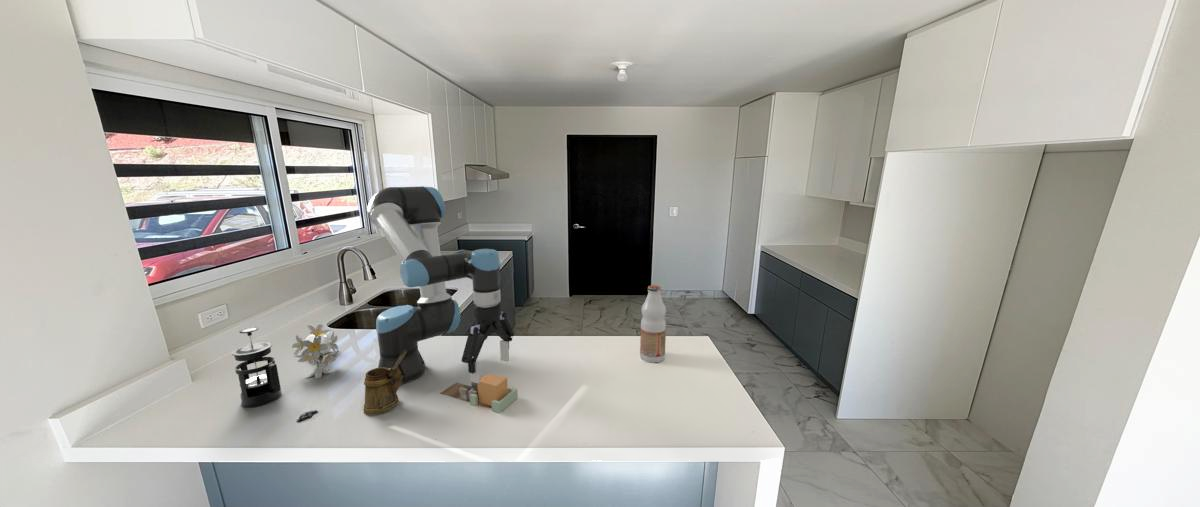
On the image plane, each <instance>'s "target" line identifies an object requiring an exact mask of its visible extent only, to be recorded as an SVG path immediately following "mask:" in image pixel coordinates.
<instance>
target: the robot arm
mask: <svg viewBox="0 0 1200 507" xmlns="http://www.w3.org/2000/svg"><path fill="white" fill-rule="evenodd" d="M366 208H367V209H366V210H367V216H368V218H369V220H370V222H371V223H372V225H374V227H376V228H377V229H380V231H381V232H382V234H383V235H384V237H385V238H386V240H387V241H388V243H389V244H390V246H391V247H392V249H393V250H394V251H395V253H396V254H397V256H398V258H399V259H400V261H401V264H400V266H399V268H400V269H399V271H400V277H401V280H402V282H403V283H402V284H403V285H404V286H406V287H407V288H417V287H419V293H420V297H419V299H418V300H417V301H416V304H417V307H414V306H413V305H409V304H406V305H405V304H404V305H397V306H394V307H390V308H388V309H386V310H384V311H382V312H381V313H379V315H378V316H377V317H376V322H375V324H376V325H375V326H376V328H375V329H376V330H375V331H376V333H377V342H378V348H379V361H378V365H377V368H380V367H386V368H391V367H392V365H393V364H394V363H395V361H396V360H397V358H398V357H399V356H400V355H401V353H402V352H403V351H404V350H405V349H406V351H407V353H406V354H405V356H404V357H403V359H402V360H401V362H400V363H399V365H398V366H397V368H398V369H399V370H400V372H401V375H402V382H401V384H400V385H402V384H406V383H409V382H412V381H414V380H416V379H418V378H420V377H422V376H423V375H424V373H425V372H426V363H425V360H424V358H423V356H422V354H421V352H420V351H419V347H418V345H419V344H418V343H419V342H421V341H426V340H428V339H431V338H434V337H437V336H442V335H447V334H449V333H451V332H454V331H455V330H456V329H457V328H458V327H459V326H460V322H461V310H460V307H459V303H458V302H457V301H456V300H455V299H452V295H451V294H449V293H448V292H447V288H446V282H449V281H450V282H451V281H455V280H460V279H466V278H467V279H470V280H472V296H473V298H472V299H473V304H474V305H473V312H474V313H473V314H474V318H475V319H476V320H477V321H476V325H474V326H473V325H470V326H468V333H467V334H468V335H467V339H466V341H465V345H464V350H463V352H462V356H461V360H460V361H461V362H462V363H465V364H467V367H468V368H467V369H468V370H467V371H468V373H469V382H470V383H471V382H474V383H479V382H480V381H479V379H480V371H479V370H480V367H479V360H478V357H479V354H480V352H481V350H482V347H483V345H484V342H485V341H486V340H487V339H488V337H489V336H491V335H492V334H494V333H496V334H497V336H498V337H499V338H500V339H501V340H499V350H500V351H499V352H500V361H502V362H506V363H508V362H510V342H512V341H513V337H514V330H513V328H512V327H511V324H510V323H509V320H508V316H507V312H504V311H502V303H501V300H502V297H501V295H502V294H501V261H500V255H499V251H498V250H496V249H493V248H479V249H475V250H469V249H459V250H456V251H455V252H453V253H450V254H441V246H440V239H439V234H438V227H439V226H441V223H442V222H441V219H442V218H444V217H445V215H446V204H445V201H444V198H443V195H442V193H441V192H439V190H438V189H437V188H436V187H432V186H393V187H392V186H390V187H385V188H382V189H379V190H378V191H377V192H376V193H374V194H373V196H372V197H371V198H370V200H369V202H368V204H367V207H366ZM395 382H396V379H395V378H394V377H393V378H392V383H393V384H395Z"/></svg>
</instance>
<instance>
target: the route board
mask: <svg viewBox="0 0 1200 507" xmlns="http://www.w3.org/2000/svg"><path fill="white" fill-rule="evenodd" d="M470 383H471V384H470V386H472V387H475V388H478V383H474V382H471V381H470ZM467 385H468V384H463V383H461V382H455V383H453V384H452V385H450V386H449V387H447V388H446V389H444V390H443V391H441V392H440V393H439V394H441V395H444V396H447V397H451V398H455V399H457V400H461V401H464V402H468V403H470V395H471V394H476V395H477V391H474V390H469V391H468V389H467V388H465V386H467ZM515 401H516V400H514V401H513V402H512V403H511V404H510V405H509V406H508V407H510V406H511V405H512V404H513V403H514V402H515ZM477 406H481V407H483V408H488V409H491V410H492V406H490V405H486V404H483V403H480V402H479V398H478V405H477ZM508 407H506V408H505V409H504V410H503V411H502V412H501V413H503V412H504V411H505V410H506V409H507V408H508Z"/></svg>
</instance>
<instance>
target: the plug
mask: <svg viewBox="0 0 1200 507" xmlns="http://www.w3.org/2000/svg"><path fill="white" fill-rule="evenodd" d="M479 381H480V382H479V383H478V388H475V387H472V385H468V384H466V385H467V386H465V388H467V389H468V391H469V390H474V391H477V396H478V398H479V402H480V403H483V404H486V405H490V406H492V402H491V401H493V400H497V401H500V400H501V399H503V398H504V397H505V396H506V395H507V394H508V388H509V386H508V377H505V376H501V375H497V374H494V373H490V372H489V373H487V374H485V375H484V376H483V377H481V378H479Z"/></svg>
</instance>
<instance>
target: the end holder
mask: <svg viewBox="0 0 1200 507" xmlns="http://www.w3.org/2000/svg"><path fill="white" fill-rule="evenodd" d="M518 395H519V394H518V388H516V387H512V386H508V394H507V395H506V396H505V397H504V398H503V399H501V400H500V401H497V400H493V401H491V402H492V409H491V411H492V412H495V413H498V414H501V413H503V412H504V411H505V410H506V409H507V408H508V407H510V406H511V405H512V404H513V403H514V402H515V401H517V399H518V398H519V396H518ZM514 400H515V401H514ZM513 401H514V402H513ZM512 402H513V403H512ZM469 403H470V405H472V406H475V407H476V406H479V405H478V396H477V395H476V394H471V395H470V402H469ZM511 403H512V404H511ZM510 404H511V405H510ZM509 405H510V406H509ZM506 407H507V408H506ZM505 408H506V409H505ZM504 409H505V410H504ZM503 410H504V411H503ZM502 411H503V412H502Z"/></svg>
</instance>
